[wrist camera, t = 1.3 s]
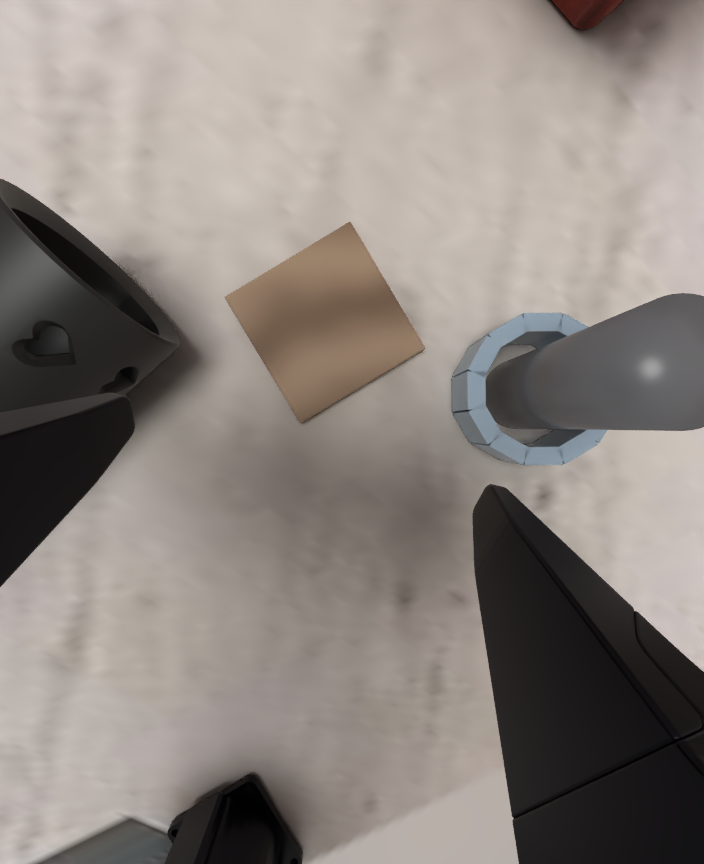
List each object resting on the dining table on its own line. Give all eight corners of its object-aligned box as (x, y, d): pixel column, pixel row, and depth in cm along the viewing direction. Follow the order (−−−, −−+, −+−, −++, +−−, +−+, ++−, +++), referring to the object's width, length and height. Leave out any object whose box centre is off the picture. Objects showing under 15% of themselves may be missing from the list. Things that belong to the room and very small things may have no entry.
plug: (563, 406, 22) (775, 386, 11) (504, 441, 22) (657, 456, 11) (529, 347, 22) (707, 267, 11) (470, 382, 22) (588, 338, 11)
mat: (422, 351, 22) (425, 348, 21) (301, 423, 22) (300, 423, 21) (350, 228, 22) (350, 221, 21) (229, 301, 22) (224, 297, 21)
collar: (606, 416, 22) (646, 415, 19) (494, 484, 22) (516, 492, 19) (540, 303, 22) (570, 284, 19) (427, 371, 22) (439, 362, 19)
